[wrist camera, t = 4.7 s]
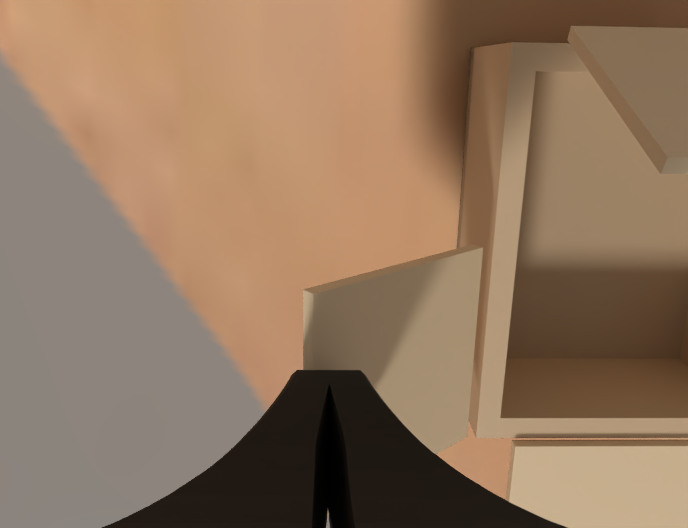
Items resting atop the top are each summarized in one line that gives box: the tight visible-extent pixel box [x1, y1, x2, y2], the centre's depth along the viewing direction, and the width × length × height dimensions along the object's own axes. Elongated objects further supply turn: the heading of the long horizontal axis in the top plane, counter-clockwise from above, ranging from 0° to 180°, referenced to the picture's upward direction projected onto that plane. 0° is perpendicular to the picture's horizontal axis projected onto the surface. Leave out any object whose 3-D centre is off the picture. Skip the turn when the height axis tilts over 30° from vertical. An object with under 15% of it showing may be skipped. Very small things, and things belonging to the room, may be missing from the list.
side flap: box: [303, 245, 483, 517], centre depth 14 cm, size 5×5×1 cm
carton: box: [457, 42, 688, 528], centre depth 18 cm, size 15×12×4 cm
